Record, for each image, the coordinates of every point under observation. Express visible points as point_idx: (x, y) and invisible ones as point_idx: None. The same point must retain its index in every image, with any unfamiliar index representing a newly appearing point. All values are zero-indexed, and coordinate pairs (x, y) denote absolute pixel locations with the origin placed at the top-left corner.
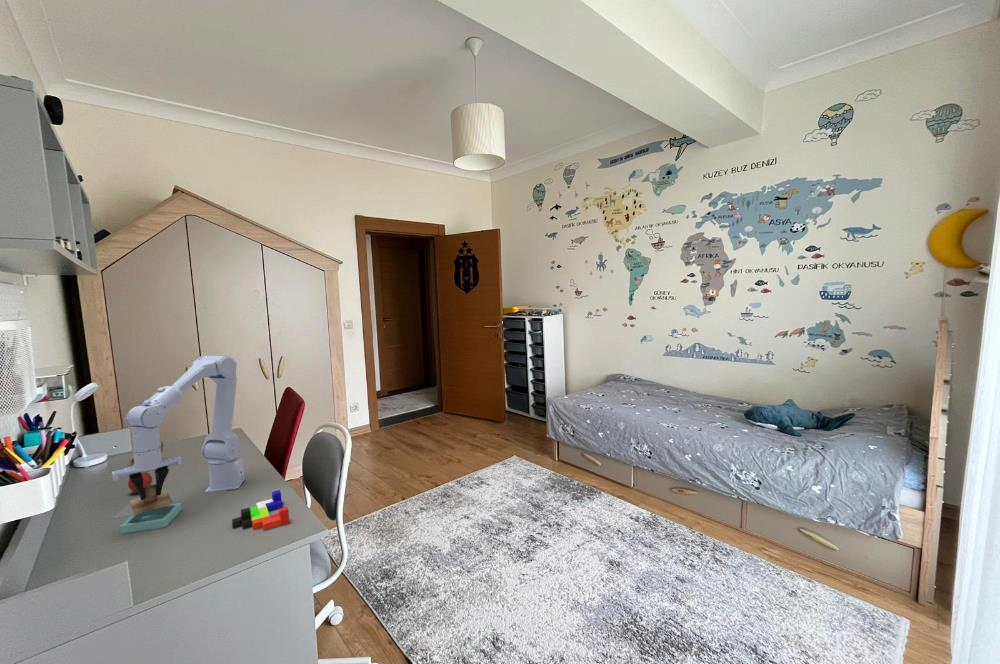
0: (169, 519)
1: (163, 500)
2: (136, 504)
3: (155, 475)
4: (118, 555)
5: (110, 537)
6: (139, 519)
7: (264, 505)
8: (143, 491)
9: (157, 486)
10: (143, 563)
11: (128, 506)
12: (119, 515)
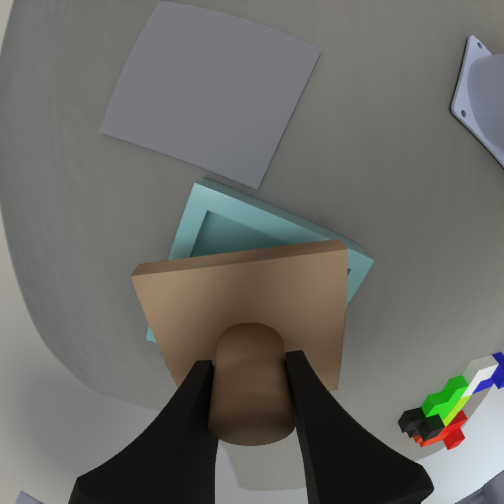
0: None
1: None
2: (181, 350)
3: (310, 459)
4: None
5: (129, 308)
6: (200, 233)
7: (474, 388)
8: (215, 446)
9: (298, 429)
10: (236, 453)
11: (152, 28)
12: (120, 115)
